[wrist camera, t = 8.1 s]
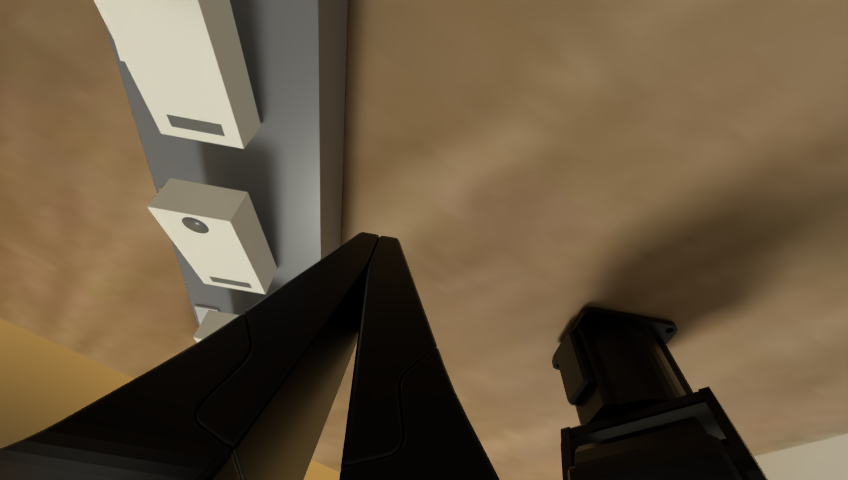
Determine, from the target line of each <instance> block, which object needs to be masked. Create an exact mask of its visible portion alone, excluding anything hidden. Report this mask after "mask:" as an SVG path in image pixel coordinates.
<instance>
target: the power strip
mask: <svg viewBox="0 0 848 480" xmlns="http://www.w3.org/2000/svg"><path fill="white" fill-rule="evenodd" d="M230 4H231V8H232V12H233V16H234V20H235V24H236V28H237V32H238V36H239V40H240V44H241V48H242V52H243V56H244V60H245V64H246V68H247V72H248V76H249V80H250V84H251V88H252V92H253V96H254V100H255V104H256V108H257V112H258V116H259V120H260V124H261V127H260V128H259V129H258V131H257V132H256V133H255V135H254V136H253V137H252V139H251V140H250V141H249V143H248V144H247V145H246V147H245V148H244V149H242V148H236V147H231V146H225V145H220V144H215V143H209V142H204V141H198V140H193V139H187V138H182V137H177V136H171V135H166V134H161V132H160V130H159V128H158V126H157V124H156V123H155V121H154V119H153V117H152V115H151V113H150V111H149V109H148V107H147V105H146V103H145V101H144V99H143V97H142V95H141V93H140V91H139V89H138V87H137V85H136V83H135V81H134V79H133V77H132V75H131V73H130V71H129V69H128V67H127V65H126V63H125V61H124V59H123V57H122V55H121V53H120V51H119V49H118V47H117V45H116V43H115V41H114V39H113V37H112V35H111V33H110V31H109V29H108V27H107V25H106V23H105V25H106V29H107V32H108V35H109V38H110V42H111V45H112V48H113V51H114V55H115V58H116V61H117V64H118V68H119V71H120V74H121V77H122V81H123V84H124V87H125V90H126V94H127V97H128V100H129V103H130V107H131V110H132V113H133V116H134V120H135V123H136V126H137V129H138V133H139V136H140V139H141V142H142V146H143V149H144V152H145V155H146V159H147V162H148V165H149V168H150V172H151V175H152V178H153V181H154V185H155V188H156V191H157V193H158V192H159V191H160V190H161V189H162V187H163V186H164V185H165V184H166V182H167V181H168V180H169V179H170V178H173V179H179V180H184V181H190V182H195V183H201V184H206V185H212V186H217V187H223V188H228V189H234V190H239V191H245V192H248V194H249V197H250V199H251V202H252V204H253V207H254V210H255V212H256V215H257V217H258V220H259V223H260V225H261V228H262V230H263V233H264V235H265V238H266V241H267V243H268V246H269V248H270V251H271V254H272V256H273V259H274V261H275V264H276V266H277V270H276V273H275V275H274V277H273V279H272V282H271V284H270V286H269V288H268V290H267V293H266V294H260V293H255V292H249V291H243V290H238V289H232V288H226V287H221V286H215V285H209V284H204V283H203V281H202V280H201V279H200V277H199V276H198V275H197V273H196V272H195V271H194V269H193V268H192V267H191V265H190V264H189V263H188V261H187V260H186V258H185V257H184V256H183V254H182V253H181V252H180V250H179V249H178V248H177V246H176V245H175V244H174V242H173V241H172V243H173V246H174V250H175V253H176V256H177V259H178V263H179V266H180V269H181V272H182V276H183V279H184V282H185V285H186V289H187V292H188V295H189V298H190V302H191V305H192V308H193V311H194V315H195V318H196V321H197V324H198V328H199V326H200V324H201V322H202V321H203V319H204V317H205V315H206V314H207V312H208V310H213V311H218V312H224V313H230V314H235V315H240V314H244V315H245V311H246V310H248V309H249V308H251V307H252V306H253V305H255V304H256V303H258V302H259V301H261V300H262V299H264V298H265V297H267V296H268V295H270V294H271V293H273V292H274V291H275V290H277V289H278V288H280V287H281V286H283V285H284V284H286V283H287V282H289V281H290V280H292V279H293V278H295V277H296V276H297V275H299V274H300V273H302V272H303V271H305V270H306V269H308V268H309V267H311V266H312V265H314V264H315V263H317V262H318V261H320V260H321V259H322V258H324V257H325V256H327V255H328V254H330V253H331V252H333V251H334V250H336V249H337V248H339V247H340V246H341V219H342V186H343V152H344V119H345V86H346V53H347V20H348V0H230ZM104 22H105V21H104Z"/></svg>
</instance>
